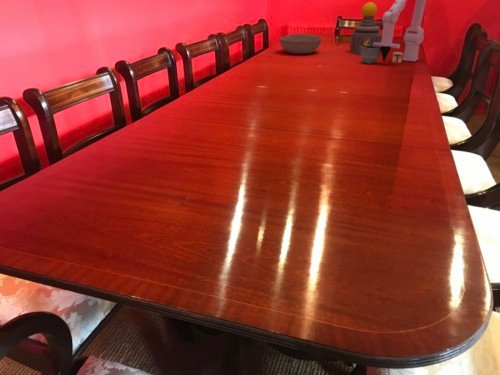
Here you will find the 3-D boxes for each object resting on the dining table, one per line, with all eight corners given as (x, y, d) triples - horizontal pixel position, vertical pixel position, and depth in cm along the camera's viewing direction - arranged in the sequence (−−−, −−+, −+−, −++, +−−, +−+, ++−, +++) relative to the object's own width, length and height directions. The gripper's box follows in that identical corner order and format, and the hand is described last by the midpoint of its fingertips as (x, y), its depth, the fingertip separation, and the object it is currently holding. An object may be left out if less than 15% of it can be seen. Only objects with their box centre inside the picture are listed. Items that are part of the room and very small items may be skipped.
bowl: (299, 48, 278) (300, 33, 273) (329, 52, 259) (330, 36, 254) (270, 52, 262) (270, 36, 258) (300, 58, 244) (301, 41, 239)
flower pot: (367, 64, 222) (369, 48, 218) (358, 62, 230) (360, 46, 226) (380, 63, 225) (382, 47, 221) (370, 61, 232) (372, 45, 228)
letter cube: (392, 60, 233) (393, 52, 231) (401, 61, 232) (402, 52, 229) (392, 62, 229) (393, 53, 226) (401, 62, 227) (402, 53, 225)
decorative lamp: (380, 55, 249) (388, 3, 235) (350, 54, 252) (356, 3, 238) (377, 50, 266) (383, 1, 252) (348, 49, 268) (353, 1, 254)
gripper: (372, 35, 217) (369, 60, 224) (399, 36, 210) (394, 63, 216) (376, 33, 222) (373, 58, 229) (402, 35, 215) (398, 60, 222)
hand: (384, 60), depth 223 cm, fingers closed
